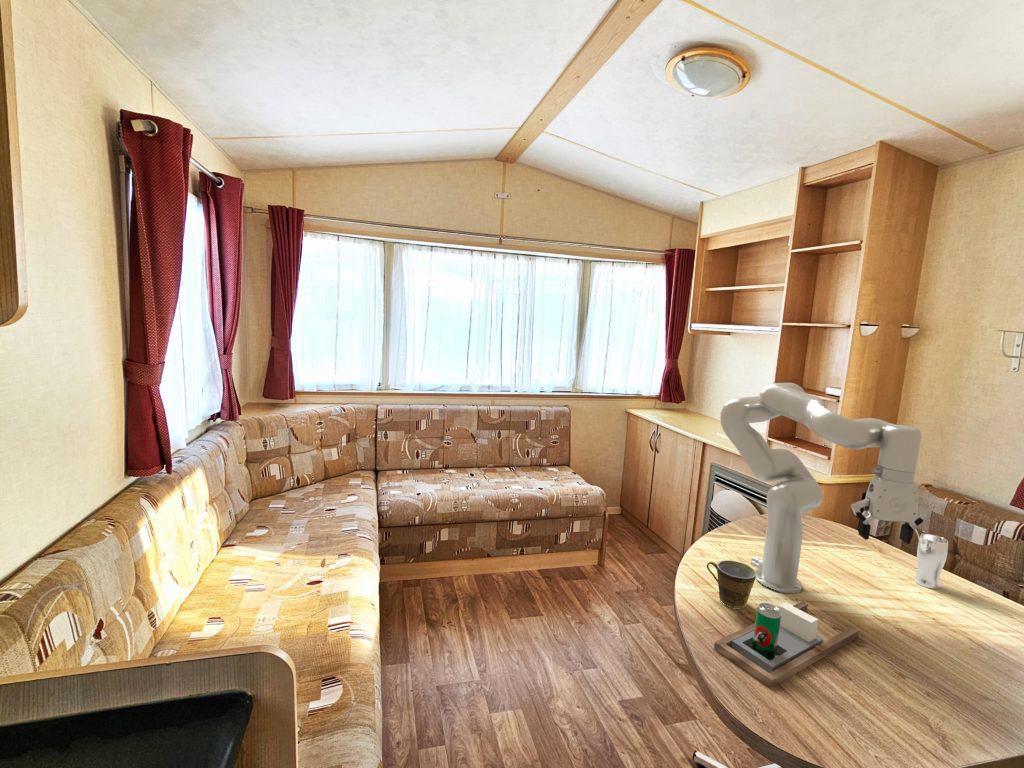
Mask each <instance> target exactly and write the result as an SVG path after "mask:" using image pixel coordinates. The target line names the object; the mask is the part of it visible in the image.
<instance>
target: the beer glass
mask: <svg viewBox="0 0 1024 768" xmlns="http://www.w3.org/2000/svg"><path fill="white" fill-rule="evenodd" d="M948 550H949V541H948V539H946V538H944V537H941V536H939V535H936V534H930V533H921V534H920V536H919V540H918V545H917V551H916V557H917V559H916V561H917V572H916V574H915V576H914V579H913V580H914V581H913V582H915V583H916V584H918V585H919V586H921V585H922V587H923V586H924V588H926V587H927V588H926V589H930V588H931V589H932V590H939V589H940V588H941V587H940V585H941V584H940V576H941V573H942V570H943V568H944V566H945V564H946V561H947V557H948V552H949V551H948Z"/></svg>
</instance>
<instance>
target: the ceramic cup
mask: <svg viewBox="0 0 1024 768" xmlns="http://www.w3.org/2000/svg"><path fill="white" fill-rule="evenodd" d="M709 565H712V566H713V567H714V568H715V569H716V574H717V576H716V575H715V574H714V573H713V571H712V570H711V569H710V568H709ZM706 569H707V570H708V572H709V573H710V574H711V576H712V577H713V578H714V580H715V581H716V582H717V584H718V595H719V597H718V598H720V599H719V600H720V602H721V601H722V602H723V603H724V604H726V605H728V606H730V607H729V608H731V607H732V608H731V609H733V608H740V609H739V610H744V608H745V607H746V605H747V604H748V600H749V599H750V598H749V597H750V595H751V591H752V589H753V586H754V584H755V581H756V570H755V569H754V568H753V567H752V566H750V565H748V564H746V563H743V562H740V561H736V560H728V559H727V560H721V561H718V563H716V562H713V561H709V562H708V563H707V564H706ZM722 602H721V603H722ZM723 603H722V604H723ZM724 604H723V605H724ZM726 605H725V606H726ZM728 606H727V607H728Z"/></svg>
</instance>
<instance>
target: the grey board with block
mask: <svg viewBox="0 0 1024 768" xmlns="http://www.w3.org/2000/svg"><path fill="white" fill-rule="evenodd" d="M777 608H778V609H779V610H780V614H781V621H780V629H779V637H778V645H777V653H776V654H778V656H776V658H774V659H772V660H771V661H770V660H768V659H767V658H765V657H764V656H762V655H760V654H759V653H757V652H756V651H754V650H753V649H752V647H751V646H752V645H753V636H754V631H752V632H750V633H748V634H746V635H743V636H741V637H739V638H737V639H735V640H733V641H732V647H731V648H732V649H734V650H735V651H737V652H738V653H740V654H741V655H743V656H744V657H746V658H747V659H749V660H750V661H752V662H753V663H755V664H756V665H758V666H759V667H761V668H762V669H764V670H765V671H767V672H768V673H770V672H772V671H774V670H776V669H778V668H779V667H781V666H783V665H785V664H786V663H788V662H790V661H792V660H794V659H795V658H797V657H799V656H801V655H802V654H804V653H806V652H808V651H810V650H811V649H813V648H815V646H817V645H820V644H822V643H824V638H823V637H820V636H819V635H817V632H818V624H819V623H818V622H819V619H818V618H816V617H814V616H812V615H810V614H809V613H807V612H806V611H805V612H803V611H801V610H799V609H797V608H795V607H794V606H793V605H792V604H790V603H788V602H786V601H785V602H783V603H781V604H779V605H778V607H777Z"/></svg>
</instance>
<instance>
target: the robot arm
mask: <svg viewBox="0 0 1024 768" xmlns="http://www.w3.org/2000/svg"><path fill="white" fill-rule="evenodd" d="M781 416H783V417H786V418H788V419H791V420H792V421H795V422H797V423H799V424H802V425H804V426H806V427H807V428H808V430H810V431H811V432H813V433H814V434H815V435H816V436H818V437H820V438H822V439H823V440H827V441H829V442H830V443H832V444H836V445H837V446H840V447H843V448H846V449H848V450H849V449H850V450H863V449H866V448H869V449H871V448H879V451H878V459H877V464H876V467H872V468H871V470H870V472H871V474H874V476H872V478H871V479H870V482H869V485H868V488H867V491H866V494H865V498H864V499H861V500H858V501H856V502H852V503H851V504H850V507H851V510H852V512H853V515H854V516H855V517H856V518H857V519H858V521H859V523H858V529H857V531H858V532H857V533H858V535H859V536H860V537H861V538H863V539H864V540H865V541H866V540H867V541H868V540H869V538H870V533H871V528H872V527H871V526H872V525H870V523H871V522H873V520H875V519H876V520H878V521H888V522H897V523H902V524H901V527H900V533H899V540H900V541H903V542H904V543H905V544H907V545H911V544H912V542H911V541H912V539H913V534H914V531H915V530H916V529H918V526H920V525H921V524H923V522H924V520H925V519H926V518H927V516H928V515H929V512H928V511H926V510H925V509H923V508H922V507H920V506H919V488H918V483H917V482H915V476H916V470H917V464H918V458H919V453H920V448H921V444H922V443H921V442H922V437H923V436H922V432H921V430H920V429H918V428H916V427H914V426H910V425H905V424H894V423H891V422H888V421H885V420H882V419H879V418H876V417H875V418H874V417H868V418H865V417H864V418H855V419H851V418H850V417H847V416H843V415H841V414H838V413H836V412H833V411H830V410H829V409H827V408H825V402H824V401H823V399H821V398H820V397H818V396H815V395H812V394H809V393H807V392H806V391H805V390H804V388H803V387H802V386H800V385H799V384H796V383H794V382H774V383H769V384H767V385H765V386H764V387H763V388H762V389H761V390H760V392H759V395H758V396H744V397H735V398H732V399H730V400H728V401H726V402H725V404H724V405H723V406H722V408H721V411H720V416H719V417H720V425H721V428H722V431H723V432H724V434H725V436H726V437H727V439H728V440H729V441H730V442H731V443H732V444H733V446H735V448H736V449H737V451H738V452H739V454H740V456H741V457H742V459H743V460H744V462H745V463H746V465H747V466H748V468H749V469H750V470H751V472H752V474H753V475H754V476H755V478H757V479H758V480H759V481H762V482H765V483H766V482H774V481H779V482H777V483H775V484H773V485H772V486H771V487H770V488H769V489H768V491H767V494H766V507H767V509H766V510H767V518H766V519H767V520H766V528H765V530H766V531H765V538H764V545H763V554H762V559H760V558H759V557H757V556H752V558H751V562H750V565H751V566H753V567H755V568H757V570H755V572H756V578H755V580H756V579H757V580H758V581H759V582H760V583H761V584H760V583H759V582H758V581H757V580H756V581H757V582H758V583H759V584H760V585H762V584H763V585H764V586H763V585H762V586H763V587H765V586H766V587H765V588H767V587H769V588H771V589H770V590H772V589H774V590H773V591H775V590H777V591H776V592H778V591H781V592H780V593H783V592H785V593H784V594H797V593H800V592H801V591H802V589H803V583H802V581H801V580H800V579H798V575H799V574H798V573H799V566H800V558H801V550H802V543H803V535H804V525H803V520H802V513H804V512H808V511H811V510H814V509H817V508H818V507H820V505H821V504H822V503H823V499H824V495H823V490H822V487H821V486H820V485H819V483H818V482H817V481H816V479H815V478H814V476H813V475H812V473H810V471H809V470H808V468H807V467H806V465H805V464H804V462H802V460H801V459H800V458H799V457H798V455H796V454H795V453H794V452H793V451H791V450H788V449H786V448H772V447H771V446H770V445H769V444H768V442H767V441H766V439H765V438H764V437H763V435H762V434H761V433H759V432H758V430H756V429H754V427H753V426H751V425H750V424H754V423H763V422H767V421H769V420H770V421H771V420H772V419H773V420H774V419H776V418H778V417H781ZM862 508H863V512H862V513H861V509H862ZM769 588H768V589H769Z"/></svg>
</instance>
